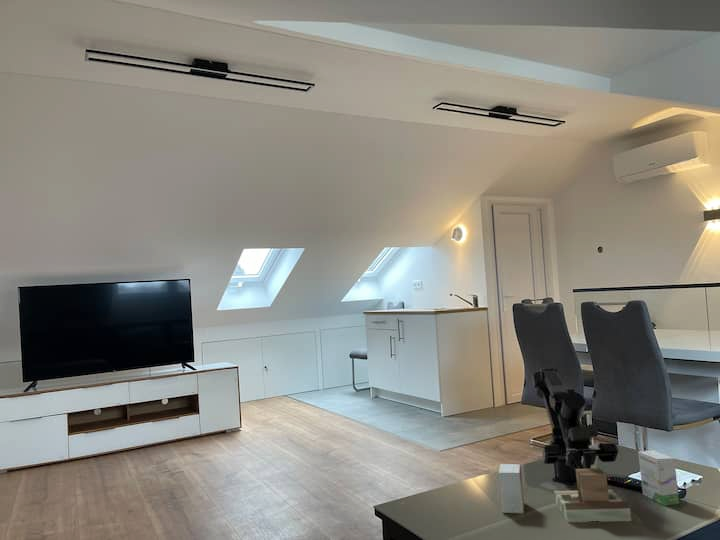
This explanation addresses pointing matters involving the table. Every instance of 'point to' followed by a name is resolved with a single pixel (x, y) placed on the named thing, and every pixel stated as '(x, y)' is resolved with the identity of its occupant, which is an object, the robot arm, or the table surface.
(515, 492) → the small box
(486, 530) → the table surface
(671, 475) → the ink box
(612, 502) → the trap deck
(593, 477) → the walnut block
